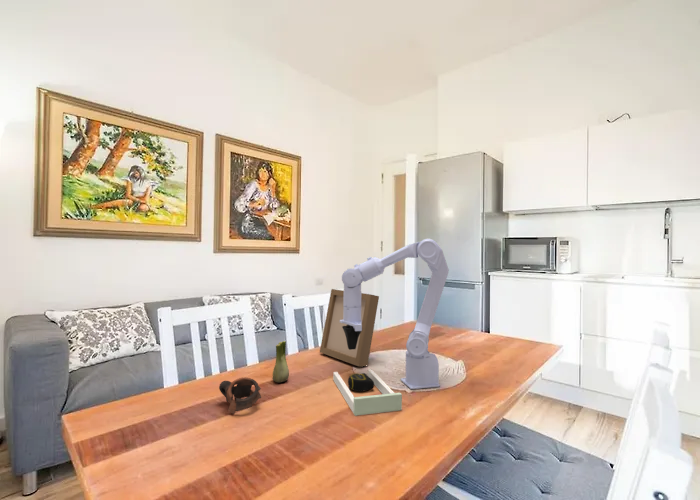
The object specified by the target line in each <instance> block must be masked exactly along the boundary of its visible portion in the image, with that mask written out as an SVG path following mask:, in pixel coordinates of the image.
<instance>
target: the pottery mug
mask: <svg viewBox="0 0 700 500" xmlns="http://www.w3.org/2000/svg"><path fill="white" fill-rule="evenodd" d="M253 386H254V390H253V389H252V387H253ZM218 389H219V392H220V393H221V394H222V395H223V397H225V401H226V403H229V407H228V412H229V413H230V414H232V415H235V413H236V412H240V411H243V410H247V409H248V408H251V407H252V406H253V405H255V404H256V403H257V402H258V400H260V399H262V395H261V393H260V391H261V389H262V388H261V387H260V385H259V384H258V382H257V381H256V380H255V379H253V378H250V377H247V376H246V377H239V378H237V379H235V380H233V381H229V380H223V381H221V382H220V383H219V387H218Z"/></svg>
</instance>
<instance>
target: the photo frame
mask: <svg viewBox="0 0 700 500" xmlns="http://www.w3.org/2000/svg"><path fill="white" fill-rule="evenodd" d="M343 297H344V289H343V290H342V289H335V288H331V289H330V296H329V301H328V307H327V312H326V317H325V321H324V327H323V328H324V329H323V333H322V337H321V338H322V339H321V343H320V348H319V353H321V354H324V355H326V356H329V357H332V358H335V359H338V360H340V361H343V362H346V363H348V364H350V365H354V366H357V367H363V366H366V365H368V364H369V358H370V353H371V348H372V342H373V334H374V329H375V324H376V323H375V322H376V318H377V317H376V316H377V309H378V306H379V298H380V296H379V295H375V294H369V293H362V292H361V320H362V323H361V324H362V331H361V333H360V335H359V337H358V341H357V345H356V349H351V350H349V349H348V345H347V340H346V335H345V332H344V330H343V328H342V326H347V324H345V323H340V320H343ZM368 366H369V365H368Z"/></svg>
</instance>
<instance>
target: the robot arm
mask: <svg viewBox="0 0 700 500" xmlns="http://www.w3.org/2000/svg"><path fill="white" fill-rule="evenodd" d="M419 257H420V259H421V260H423V261H424V262H425V263H426V264H427V266H428V268H429V270H430V271H431V276H430V279H429V281H428V282H429V283H428V285H427V289H426V292H425V294H424V299H423V301H422V303H421V307H420V309H419V314H418V316H417V320H416V323H415V326H414V328H413V330H412V331H411V332H409V335H408V339H407V341H406V344H405V347H406V351H405V377H400V381H401V382H402V383H403V384H404V385H405V386H406V387H408V388H409V389H410V390H417V389H418V390H419V389H428V388H438V387H440V386H441V385H440V383H439V382H440V381H439V376H440V375H439V371H440V370H439V369H440V367H439V366H440V364H439V363H440V362H439V359H438V356H437V355H436V354H434V353H432V352H430V351H429V340H430V339H429V337H430V336H429V335H430V332H431V328H432V325H433V322H434V319H435V317H436V313H437V309H438V306H439V303H440V300H441V297H442V294H443V291H444V287H445V284H446V282H447V278H448V275H449V270H450V269H449V267H448V264H447V261H446V257H445V255H444V251H443V249H442V247H441V246H440V245H439V244H438V243H437V241H436V240H434V239H432V238H424V239H422V240H421V241H416V242H412V243H410V244H407V245H405V246H402V247H401V248H399V249H397V250H395V251H392V252H391V253H390V254H387V255H385V256H384V257H382V258H379V257H376V256H373V257H372V256H369V257H368V258H366V259H367V260H366V261H364V262H360V263H359V264H358V263H356V264H354V265H353V268H352V267H351V268H350V267H349V268H347V269H346V270H345V271H343V273H342V275H341V281H342V284H343V291H344V297H343V320H340V323H345V324H347V326H342V328H343V330H344V332H345V335H346V340H347V345H348V349H349V350H351V349H356V345H357V341H358V337H359V335H360V333H361V331H362V324H361V323H362V320H361V293H362V283H363V282H365V283H366V282H367V281H369V280H372V279H374V278H376V277H378V276H380V275H383V274H384V271H385V269H386V268H387V267H389V266H392V265H394V264H396V263H398V262H401V261H403V260H406V259H407V258H409V259H410V258H411V259H412V258H413V259H414V258H415V259H418V258H419Z"/></svg>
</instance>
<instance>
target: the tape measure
mask: <svg viewBox="0 0 700 500" xmlns="http://www.w3.org/2000/svg"><path fill="white" fill-rule="evenodd" d="M347 386H348V388H349V389H351V390H353V391H355V392H364V391H365V392H366V391H369V390H370V391H371V390H372V389H374V388H375V385H374V381H373V380H372V379H371V378H369V377H368V374H366V373H365V372H362V373H358V372H357V373H351V374H350V375H349V377H348V379H347Z"/></svg>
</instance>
